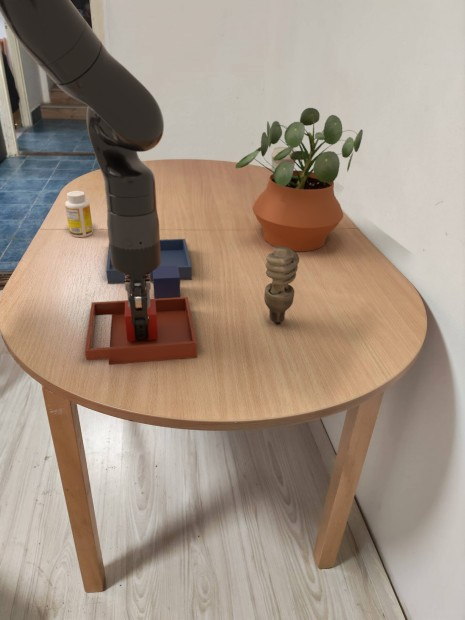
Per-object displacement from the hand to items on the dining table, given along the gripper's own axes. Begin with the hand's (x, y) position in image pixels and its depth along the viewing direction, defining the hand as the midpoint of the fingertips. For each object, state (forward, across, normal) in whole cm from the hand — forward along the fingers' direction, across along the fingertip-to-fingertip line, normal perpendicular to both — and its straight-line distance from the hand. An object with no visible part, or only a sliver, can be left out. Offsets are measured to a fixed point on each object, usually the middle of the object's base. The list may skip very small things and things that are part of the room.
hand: (141, 328), depth 77 cm
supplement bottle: (+2, +45, +14) cm, 47 cm away
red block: (+1, 0, 0) cm, 1 cm away
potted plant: (+2, +37, -36) cm, 52 cm away
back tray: (+1, +26, -2) cm, 26 cm away
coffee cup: (+2, +79, -47) cm, 92 cm away
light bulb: (+2, +1, -24) cm, 24 cm away
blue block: (+2, +14, -5) cm, 15 cm away
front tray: (+2, 0, 0) cm, 2 cm away
